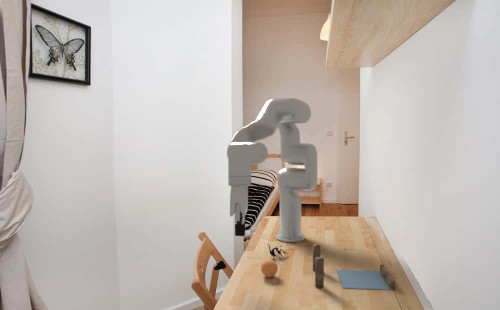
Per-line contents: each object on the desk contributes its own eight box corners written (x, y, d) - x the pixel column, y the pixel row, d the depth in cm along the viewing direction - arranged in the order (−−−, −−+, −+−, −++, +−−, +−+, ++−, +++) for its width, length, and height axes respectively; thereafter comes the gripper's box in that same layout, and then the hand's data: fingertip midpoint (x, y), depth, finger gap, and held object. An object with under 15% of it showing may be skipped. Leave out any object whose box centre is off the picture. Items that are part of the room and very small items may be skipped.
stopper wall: (380, 271, 124) (380, 264, 124) (383, 271, 124) (383, 264, 124) (391, 290, 110) (391, 282, 110) (394, 290, 110) (394, 282, 110)
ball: (261, 272, 124) (261, 257, 124) (277, 273, 124) (277, 257, 123) (260, 279, 119) (260, 263, 119) (277, 280, 118) (277, 263, 118)
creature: (282, 255, 144) (264, 253, 142) (285, 242, 144) (267, 240, 142) (291, 262, 137) (272, 260, 134) (294, 248, 137) (275, 246, 134)
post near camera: (314, 284, 115) (315, 256, 114) (323, 284, 115) (323, 257, 114) (315, 288, 112) (315, 259, 112) (324, 288, 112) (324, 260, 111)
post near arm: (312, 268, 127) (312, 243, 127) (320, 269, 127) (320, 244, 126) (313, 271, 125) (313, 246, 124) (320, 272, 124) (320, 246, 124)
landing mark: (336, 270, 126) (336, 269, 126) (378, 271, 124) (378, 271, 124) (342, 288, 112) (342, 287, 112) (389, 290, 110) (389, 289, 110)
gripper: (232, 177, 128) (232, 229, 129) (224, 183, 113) (225, 241, 114) (253, 177, 127) (253, 229, 128) (248, 184, 112) (248, 242, 113)
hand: (240, 235), depth 121 cm, fingers closed
